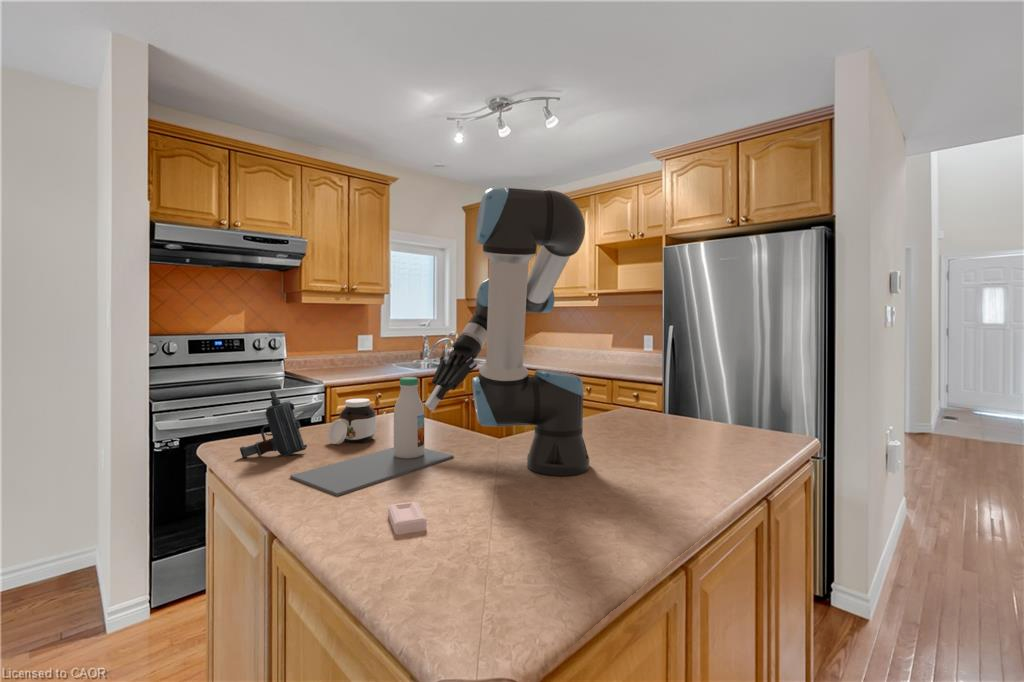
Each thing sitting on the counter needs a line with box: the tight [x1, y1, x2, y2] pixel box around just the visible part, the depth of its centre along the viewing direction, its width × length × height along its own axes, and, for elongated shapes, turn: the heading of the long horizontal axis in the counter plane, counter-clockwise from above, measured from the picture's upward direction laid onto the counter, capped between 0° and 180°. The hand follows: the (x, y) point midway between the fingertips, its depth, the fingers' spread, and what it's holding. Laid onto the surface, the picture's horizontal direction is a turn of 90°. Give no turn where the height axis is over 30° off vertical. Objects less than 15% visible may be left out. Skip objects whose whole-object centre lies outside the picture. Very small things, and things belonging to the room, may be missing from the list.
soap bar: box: [387, 501, 428, 536], centre depth 89 cm, size 5×9×2 cm, turn 22°
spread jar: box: [327, 398, 378, 445], centre depth 144 cm, size 12×11×12 cm
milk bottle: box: [393, 376, 425, 459], centre depth 128 cm, size 8×8×20 cm
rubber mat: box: [289, 446, 455, 497], centre depth 120 cm, size 34×18×1 cm, turn 143°
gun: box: [239, 390, 308, 459], centre depth 128 cm, size 3×17×15 cm
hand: (429, 407), depth 134 cm, fingers closed
